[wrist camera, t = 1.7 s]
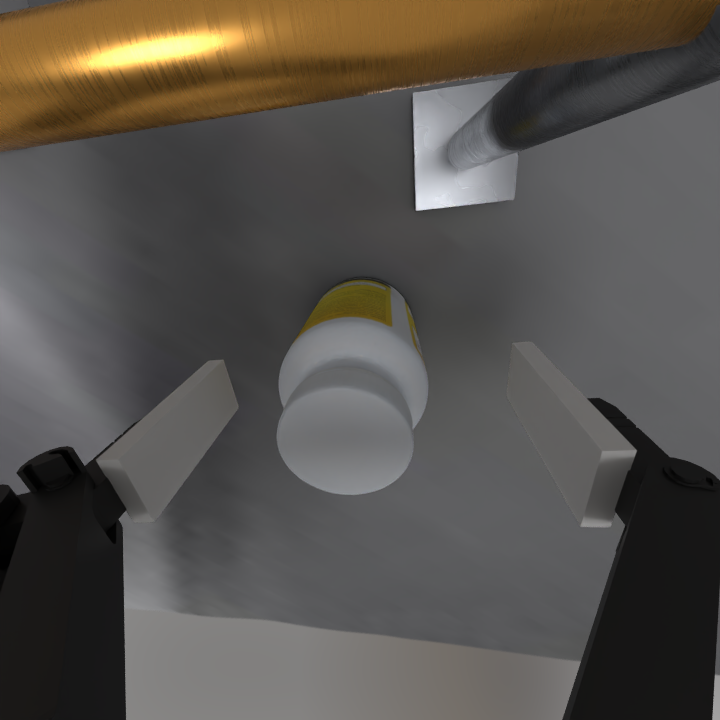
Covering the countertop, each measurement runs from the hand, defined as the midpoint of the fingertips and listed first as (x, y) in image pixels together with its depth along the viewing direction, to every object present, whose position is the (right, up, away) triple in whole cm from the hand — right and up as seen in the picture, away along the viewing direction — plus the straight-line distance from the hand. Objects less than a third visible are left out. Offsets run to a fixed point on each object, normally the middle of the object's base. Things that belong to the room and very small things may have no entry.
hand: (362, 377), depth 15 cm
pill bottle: (0, +3, +6) cm, 7 cm away
